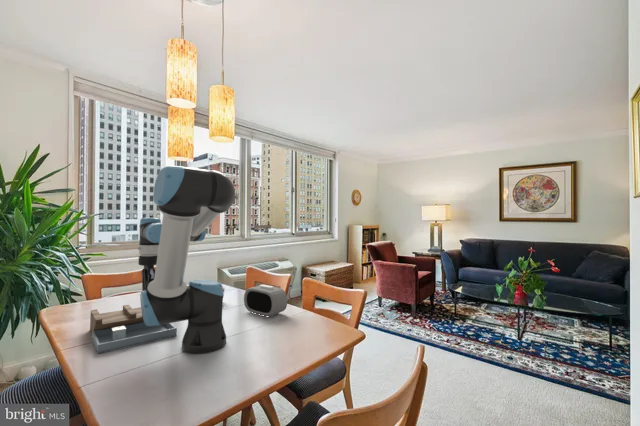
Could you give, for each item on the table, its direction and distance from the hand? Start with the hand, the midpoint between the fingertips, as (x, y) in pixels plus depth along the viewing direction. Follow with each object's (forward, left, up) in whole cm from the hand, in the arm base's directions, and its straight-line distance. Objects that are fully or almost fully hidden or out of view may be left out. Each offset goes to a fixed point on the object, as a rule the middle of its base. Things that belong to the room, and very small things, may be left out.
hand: (147, 312), depth 124 cm
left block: (-5, +11, -4) cm, 12 cm away
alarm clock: (-12, -49, -7) cm, 51 cm away
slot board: (+5, +5, -7) cm, 10 cm away
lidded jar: (+20, -37, -7) cm, 43 cm away
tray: (-7, +5, -7) cm, 11 cm away
